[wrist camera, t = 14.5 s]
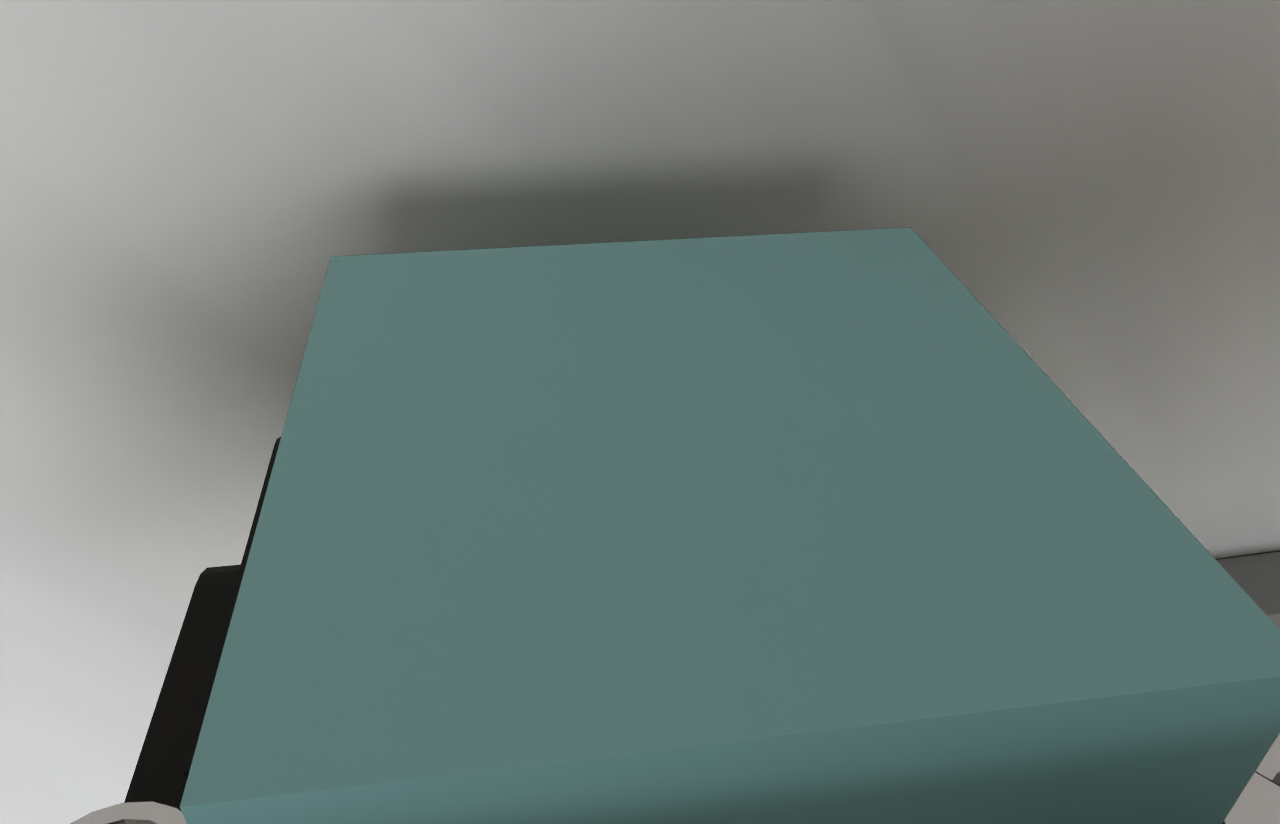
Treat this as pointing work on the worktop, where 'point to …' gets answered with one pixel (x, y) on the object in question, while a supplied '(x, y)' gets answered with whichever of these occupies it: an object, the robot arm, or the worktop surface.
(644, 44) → the worktop surface
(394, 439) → the teal block
